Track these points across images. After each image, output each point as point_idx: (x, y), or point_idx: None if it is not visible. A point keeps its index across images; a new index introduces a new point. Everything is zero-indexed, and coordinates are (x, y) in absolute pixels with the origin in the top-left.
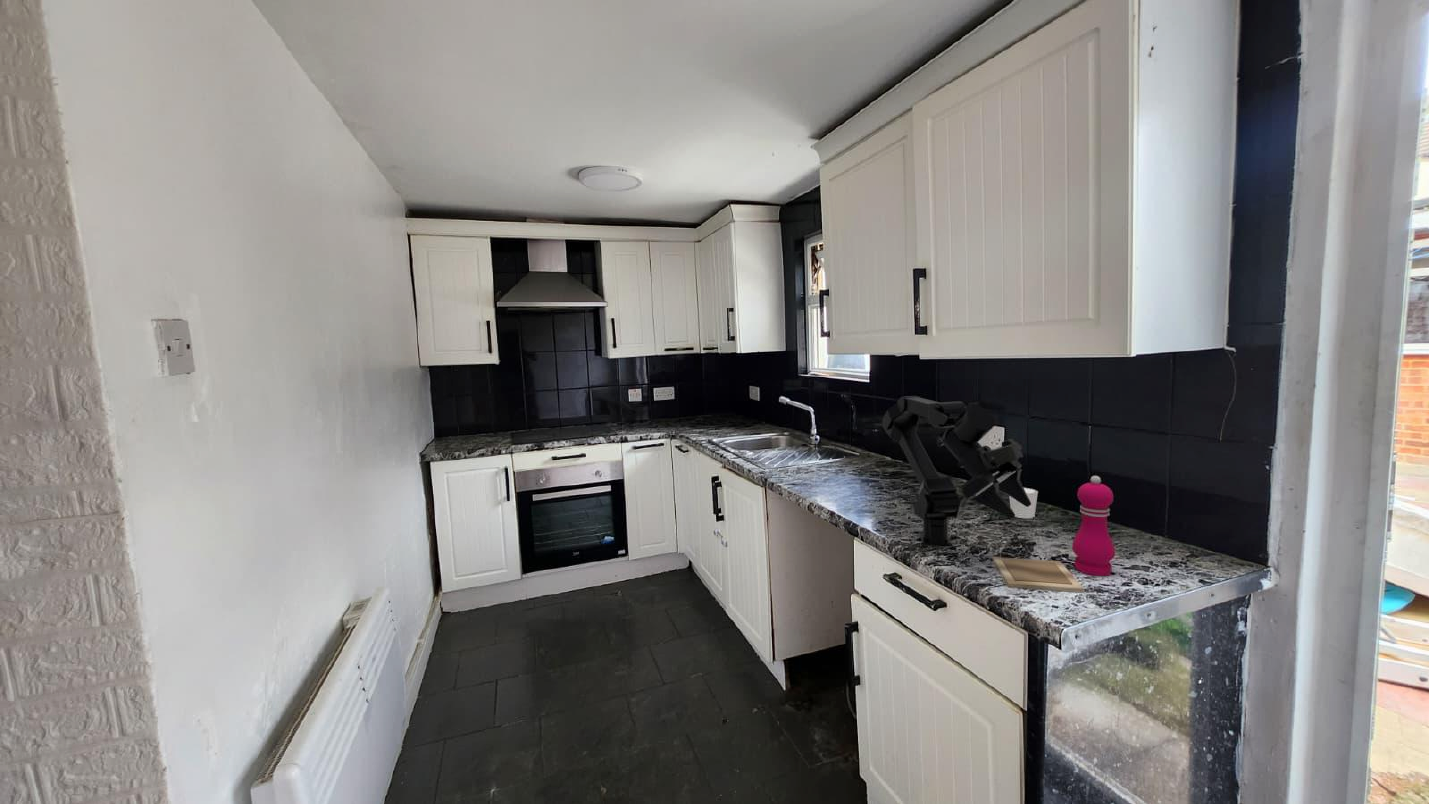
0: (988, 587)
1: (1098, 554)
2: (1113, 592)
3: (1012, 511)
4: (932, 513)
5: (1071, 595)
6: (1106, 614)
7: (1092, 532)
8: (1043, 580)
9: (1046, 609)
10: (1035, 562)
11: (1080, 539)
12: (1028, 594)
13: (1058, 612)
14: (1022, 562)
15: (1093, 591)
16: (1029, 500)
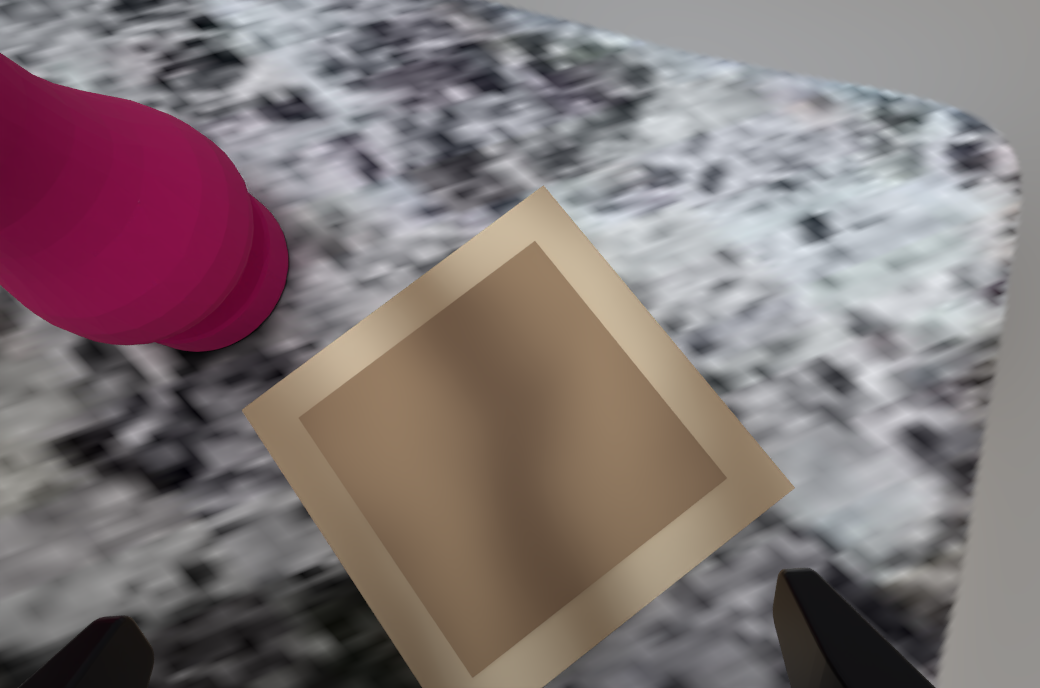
0: (882, 568)
1: (228, 162)
2: (434, 112)
3: (828, 614)
4: None
5: (620, 224)
6: (705, 55)
7: (105, 143)
8: (609, 359)
9: (882, 241)
10: (371, 499)
11: (157, 247)
12: (784, 371)
13: (865, 193)
14: (429, 557)
15: (491, 173)
16: (59, 659)
